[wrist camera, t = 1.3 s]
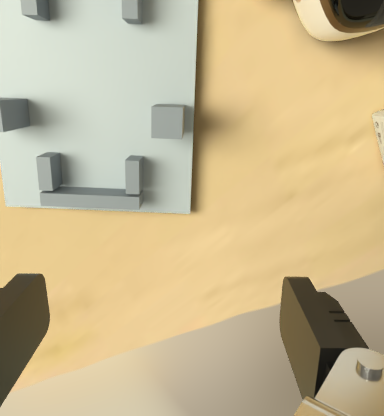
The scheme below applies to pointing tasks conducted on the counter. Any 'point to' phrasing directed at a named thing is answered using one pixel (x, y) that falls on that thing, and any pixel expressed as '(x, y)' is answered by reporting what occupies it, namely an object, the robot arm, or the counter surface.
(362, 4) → the spread jar
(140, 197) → the jig
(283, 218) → the counter surface
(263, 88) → the counter surface
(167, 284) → the counter surface
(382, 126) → the skincare box
